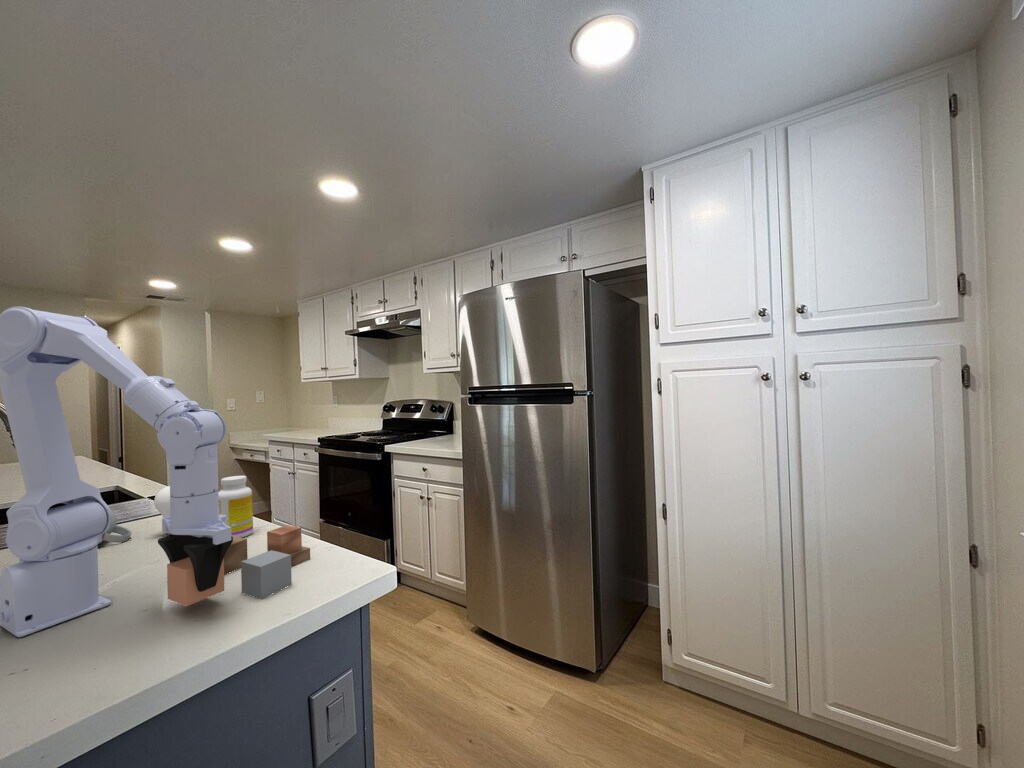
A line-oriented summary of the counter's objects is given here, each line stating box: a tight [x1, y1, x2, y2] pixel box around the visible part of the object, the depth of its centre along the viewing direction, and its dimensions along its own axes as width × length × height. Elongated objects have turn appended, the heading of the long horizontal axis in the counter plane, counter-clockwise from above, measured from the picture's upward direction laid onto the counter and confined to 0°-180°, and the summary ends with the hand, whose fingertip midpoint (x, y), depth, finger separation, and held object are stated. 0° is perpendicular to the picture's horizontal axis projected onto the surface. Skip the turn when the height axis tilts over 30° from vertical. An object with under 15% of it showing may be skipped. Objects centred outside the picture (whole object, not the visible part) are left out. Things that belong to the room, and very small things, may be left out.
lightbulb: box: [153, 485, 170, 535], centre depth 95 cm, size 6×6×11 cm
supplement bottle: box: [218, 475, 254, 538], centre depth 93 cm, size 7×7×13 cm
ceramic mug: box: [97, 510, 133, 545], centre depth 90 cm, size 11×8×8 cm
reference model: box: [261, 524, 311, 567], centre depth 78 cm, size 6×6×6 cm
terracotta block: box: [166, 557, 225, 607], centre depth 62 cm, size 5×5×5 cm
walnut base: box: [224, 537, 249, 576], centre depth 75 cm, size 8×8×5 cm
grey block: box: [240, 550, 293, 600], centre depth 68 cm, size 5×5×5 cm
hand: (196, 584), depth 62 cm, fingers closed on terracotta block, 5 cm apart
